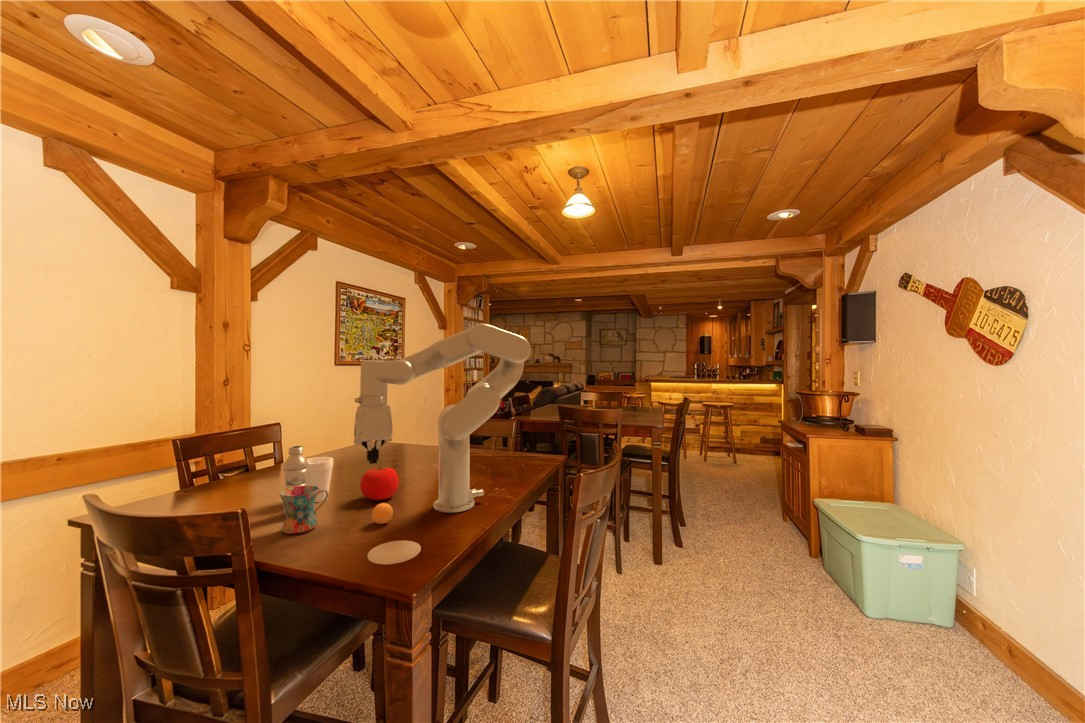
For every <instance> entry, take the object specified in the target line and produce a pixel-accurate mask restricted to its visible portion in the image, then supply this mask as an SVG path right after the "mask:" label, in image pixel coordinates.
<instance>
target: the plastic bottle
mask: <svg viewBox="0 0 1085 723" xmlns="http://www.w3.org/2000/svg"><path fill="white" fill-rule="evenodd" d="M287 453H288V455H289V456H288V457H287V458H286V460H285V461H284V463H283V474H284V480H285V489H288V488H292V487H297V486H306V476H307V469H308V462H307V460H306V459H307V458H306V457H305V456H304V455H303V453H304V446H302V445H293V446H290V447H289V448H288V452H287ZM282 509H283V513H284V514H285V507H284V504H283V507H282Z"/></svg>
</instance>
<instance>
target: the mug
mask: <svg viewBox="0 0 1085 723" xmlns="http://www.w3.org/2000/svg"><path fill="white" fill-rule="evenodd" d="M323 491H324V492H326V497H325V499H324V501H323V502H321V503H320V504H319V506H318V507H316V508H315V504H316V503H315V499H316V496H317V495H318V494H319V493H320V492H323ZM279 496H280V498H281V500H282V503H283V505H284V507H285V513H284V514H285V515H284V516H285V517H284V522H283V524H282V527H281V532H282V533H284V534H289V535H292V534H293V535H296V534H302V533H305V532H308V531H311V530H313V529H314V528H316V527H317V526H318V524H319V523H318V520H317V519H316V516H315V515H318V513H317V511H318V510H319V509H321V508H322V506H324V504H326V501H327V500H328V499H327V498H329V494H328V492H327V491H326V490H320V491H319V487H317V486H312V485H307V486H297V487H292V488H288V489H286V488H285V489H283V490H281V491H280V492H279Z"/></svg>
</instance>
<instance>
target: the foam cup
mask: <svg viewBox="0 0 1085 723" xmlns="http://www.w3.org/2000/svg"><path fill="white" fill-rule="evenodd" d="M306 460H307V462H308V469H307V476H306V486H307V485H312V486H317V487H319V491H320V490H326V491H327V492H328V495H329V493H330V485H331V478H332V471H333V466H334V458H333V457H329V456H318V457H316V456H315V457H310V458H306ZM325 497H326V492H324V491H323V492H320V493H319V494H318V495H317V496H316V499H315V502H318V503H320V502H319V501H324V499H325ZM328 498H329V497H328ZM328 498H327V500H328Z"/></svg>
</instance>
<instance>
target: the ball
mask: <svg viewBox="0 0 1085 723" xmlns="http://www.w3.org/2000/svg"><path fill="white" fill-rule="evenodd" d="M393 514H394V510H393V507H392V506H391V505H390V504H389V503H386V502H382V503H379V504H376V506H375V507H374V508H373V509H372V513H371V517H372V520H373V521H374V522H375V523H376V524H378V525H379V524H380V525H381V524H382V525H384V524H387V523H388V522H389V521H390V520H392V517H393Z"/></svg>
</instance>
